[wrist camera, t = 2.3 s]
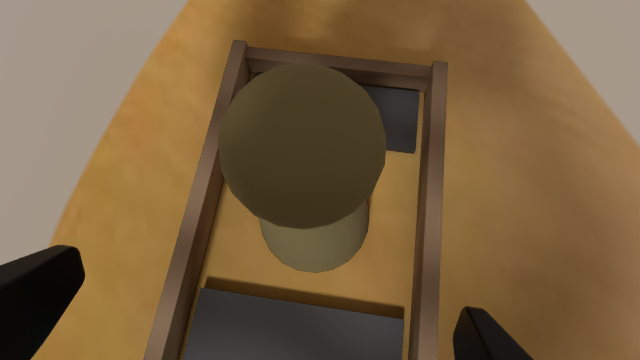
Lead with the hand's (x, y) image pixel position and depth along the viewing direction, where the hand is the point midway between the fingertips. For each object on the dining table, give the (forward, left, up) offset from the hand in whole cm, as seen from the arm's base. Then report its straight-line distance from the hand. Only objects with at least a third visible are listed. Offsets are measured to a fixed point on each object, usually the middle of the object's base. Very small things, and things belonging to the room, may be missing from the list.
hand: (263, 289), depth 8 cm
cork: (+4, +2, -11) cm, 12 cm away
